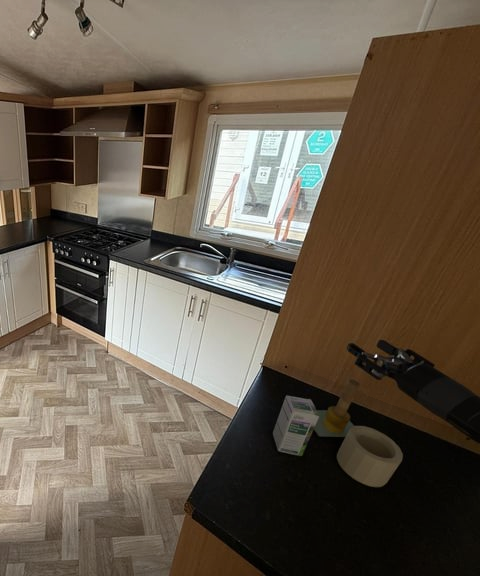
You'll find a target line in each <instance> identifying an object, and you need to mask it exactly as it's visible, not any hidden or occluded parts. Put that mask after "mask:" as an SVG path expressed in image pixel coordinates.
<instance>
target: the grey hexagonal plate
mask: <svg viewBox="0 0 480 576" xmlns="http://www.w3.org/2000/svg"><path fill="white" fill-rule="evenodd" d="M316 410H317V412H318V415H319V418H318V420H317V423H316V425H315V427H314V430H313V431H314V432H315V433H316V435H317V436H318V437H321V438H322V437H324V438H329V437H330V438H345V437H346V435H347V434H348V432H349V430H350V428H352V427H354V426H355V425H354V423H352V421H351V419H350V420H349V422H348V424H347V426H346V428H345V430H344V432H343V433H340V434H338V433H334V432H331V431H330V430H328V429H327V428H326V427H325V426H324V425H323V423H322V421H323V419H324V416H325V414H326V412H327V410H328V409H327V410H325V409H316Z"/></svg>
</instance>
